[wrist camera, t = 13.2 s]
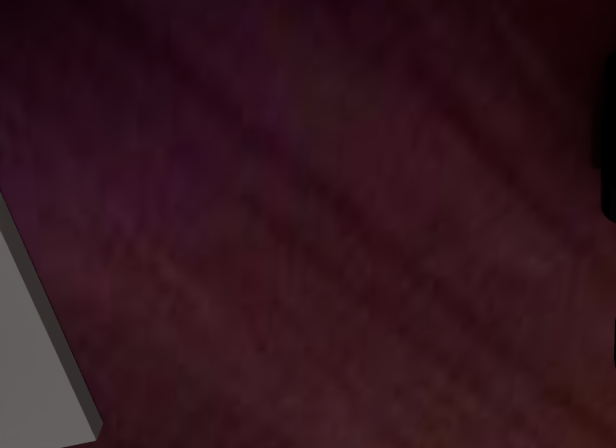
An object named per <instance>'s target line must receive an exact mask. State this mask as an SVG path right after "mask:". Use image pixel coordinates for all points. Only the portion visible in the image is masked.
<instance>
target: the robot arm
mask: <svg viewBox="0 0 616 448" xmlns="http://www.w3.org/2000/svg"><path fill="white" fill-rule="evenodd" d="M601 180H602V181H603V182H604V214H605V216H606V217H607V219H609V220H611V221H612V222H614V223H616V51H615V52H614V53H613V54H612V55H611V56H610V58H609V60H608V62H607V67H606V113H605V115H604V116H603V118H602V161H601ZM614 362H615V367H616V319H615V343H614Z"/></svg>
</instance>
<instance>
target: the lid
mask: <svg viewBox="0 0 616 448" xmlns="http://www.w3.org/2000/svg"><path fill="white" fill-rule="evenodd" d="M102 425H103V422H102V420H101V417H100V415H99V413H98V411H97V408H96V406H95V404H94V402H93V399H92V397H91V395H90V393H89V390H88V388H87V386H86V384H85V381H84V379H83V377H82V375H81V372H80V370H79V368H78V366H77V363H76V361H75V359H74V357H73V354H72V352H71V350H70V348H69V345H68V343H67V341H66V339H65V336H64V334H63V332H62V329H61V327H60V325H59V323H58V320H57V318H56V316H55V314H54V311H53V309H52V307H51V305H50V302H49V300H48V298H47V296H46V293H45V291H44V289H43V287H42V284H41V282H40V280H39V278H38V275H37V273H36V271H35V269H34V266H33V264H32V262H31V260H30V257H29V255H28V253H27V251H26V248H25V246H24V244H23V242H22V239H21V237H20V235H19V233H18V230H17V228H16V226H15V224H14V221H13V219H12V217H11V215H10V212H9V210H8V208H7V205H6V203H5V201H4V199H3V196H2V194H1V192H0V448H62V447H67V446H72V445H77V444H81V443H86V442H91V441H96V440H97V437H98V435H99V432H100V430H101V427H102Z"/></svg>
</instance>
